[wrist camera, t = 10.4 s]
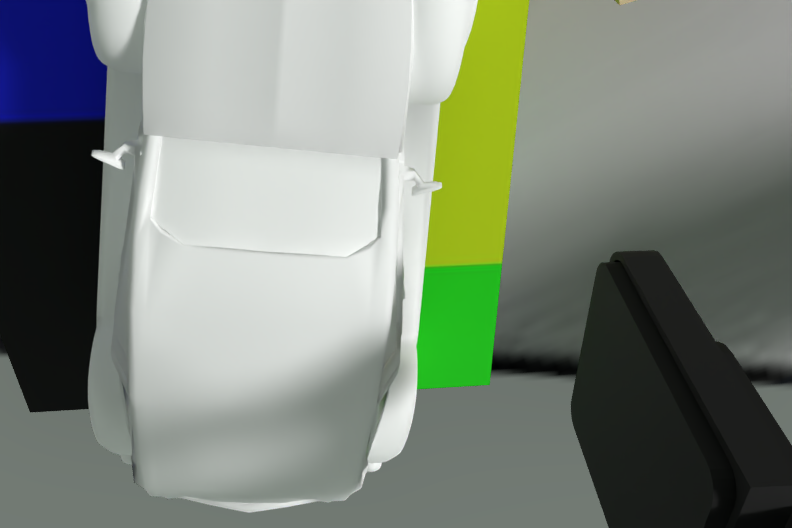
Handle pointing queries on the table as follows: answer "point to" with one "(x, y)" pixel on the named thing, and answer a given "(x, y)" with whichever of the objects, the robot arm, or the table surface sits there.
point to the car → (264, 238)
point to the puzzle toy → (82, 194)
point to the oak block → (623, 1)
